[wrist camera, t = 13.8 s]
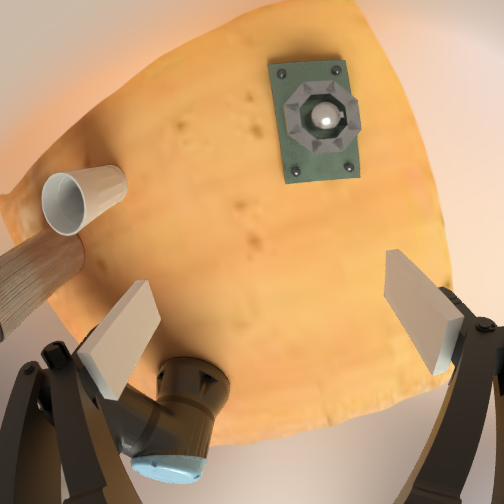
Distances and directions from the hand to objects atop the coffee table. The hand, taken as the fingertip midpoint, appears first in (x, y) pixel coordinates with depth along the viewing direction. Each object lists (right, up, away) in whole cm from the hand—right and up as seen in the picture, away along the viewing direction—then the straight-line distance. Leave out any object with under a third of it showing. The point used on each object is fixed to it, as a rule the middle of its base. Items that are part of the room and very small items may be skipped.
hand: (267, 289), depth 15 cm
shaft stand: (+7, +19, +19) cm, 28 cm away
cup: (-23, +12, +25) cm, 36 cm away
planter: (-35, +3, +30) cm, 46 cm away
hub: (+7, +19, +18) cm, 27 cm away
